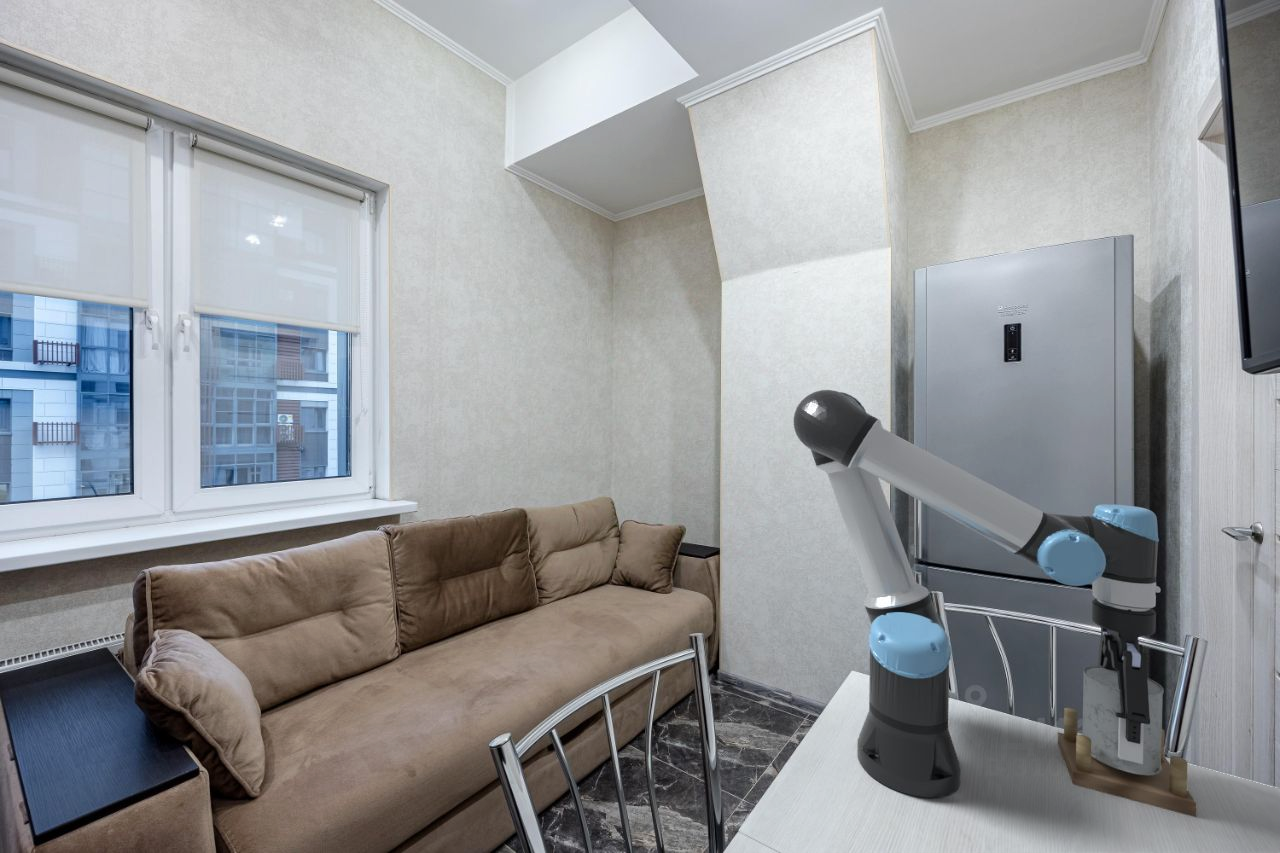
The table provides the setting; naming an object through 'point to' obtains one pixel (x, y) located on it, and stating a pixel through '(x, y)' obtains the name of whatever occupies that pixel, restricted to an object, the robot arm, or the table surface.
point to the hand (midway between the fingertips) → (1120, 742)
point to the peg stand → (1124, 773)
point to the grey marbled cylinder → (1103, 722)
